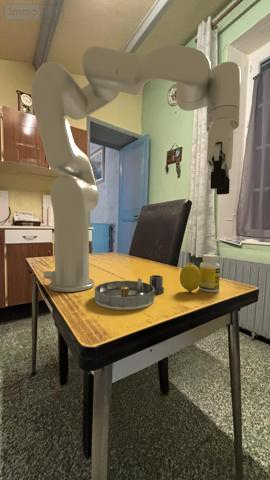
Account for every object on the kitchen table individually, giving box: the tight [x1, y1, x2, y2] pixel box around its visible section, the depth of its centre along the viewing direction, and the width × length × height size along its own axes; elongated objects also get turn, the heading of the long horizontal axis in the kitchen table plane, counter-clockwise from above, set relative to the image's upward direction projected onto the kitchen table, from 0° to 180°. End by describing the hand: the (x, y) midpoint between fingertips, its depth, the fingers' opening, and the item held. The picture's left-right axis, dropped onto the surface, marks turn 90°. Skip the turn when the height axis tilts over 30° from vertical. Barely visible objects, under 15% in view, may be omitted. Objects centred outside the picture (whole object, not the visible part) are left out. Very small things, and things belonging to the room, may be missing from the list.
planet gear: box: [149, 274, 165, 295], centre depth 58 cm, size 4×4×4 cm
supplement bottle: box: [198, 254, 221, 293], centre depth 61 cm, size 5×5×10 cm
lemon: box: [179, 262, 201, 293], centre depth 58 cm, size 6×6×8 cm
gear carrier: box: [94, 277, 156, 312], centre depth 52 cm, size 14×14×5 cm
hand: (220, 191), depth 54 cm, fingers open, 9 cm apart
